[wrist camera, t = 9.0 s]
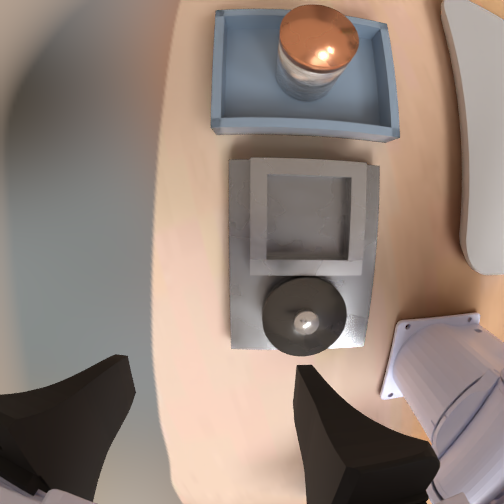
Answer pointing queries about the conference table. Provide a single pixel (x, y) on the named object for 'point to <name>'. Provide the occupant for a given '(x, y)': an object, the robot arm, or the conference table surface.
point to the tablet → (479, 129)
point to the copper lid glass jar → (313, 51)
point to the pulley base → (301, 253)
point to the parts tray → (286, 108)
